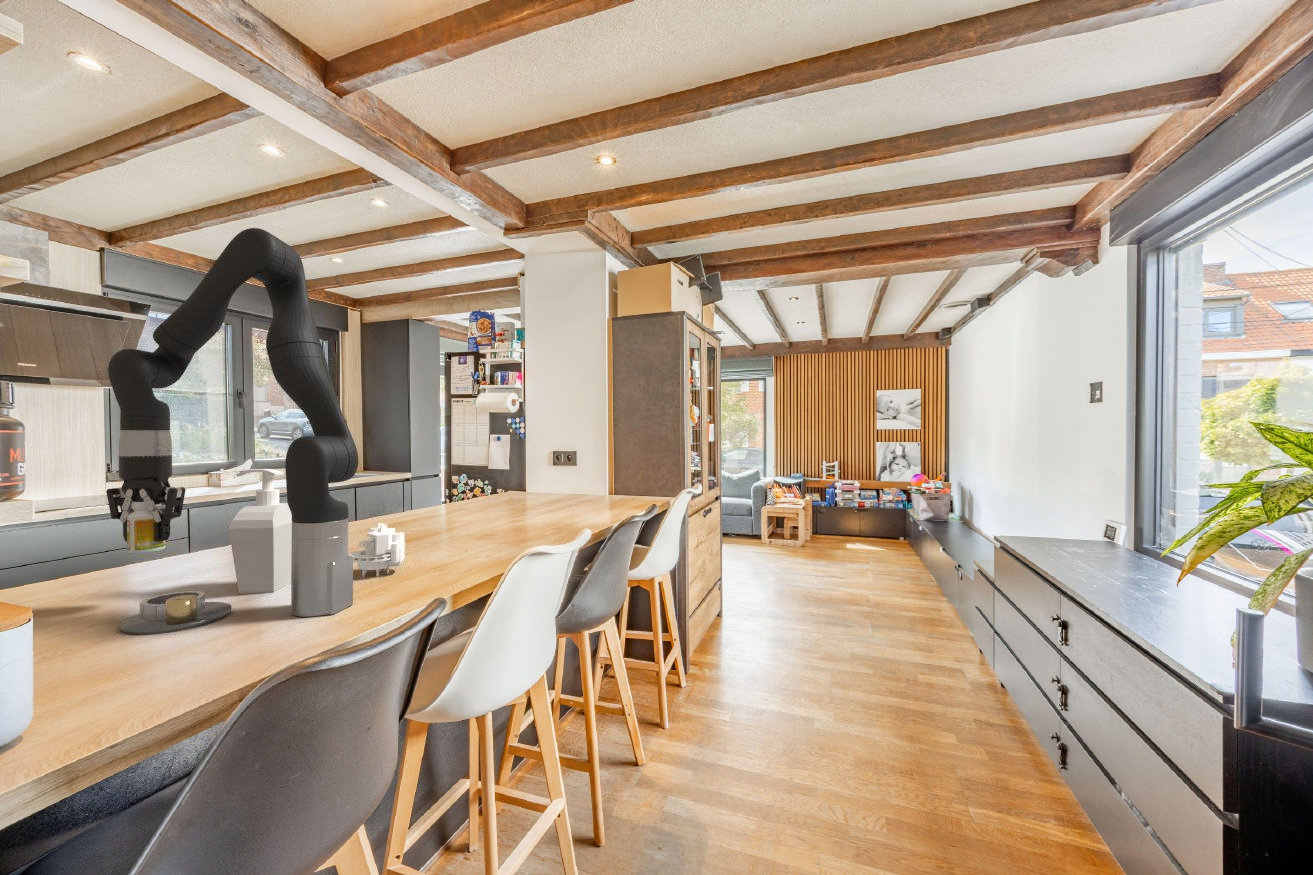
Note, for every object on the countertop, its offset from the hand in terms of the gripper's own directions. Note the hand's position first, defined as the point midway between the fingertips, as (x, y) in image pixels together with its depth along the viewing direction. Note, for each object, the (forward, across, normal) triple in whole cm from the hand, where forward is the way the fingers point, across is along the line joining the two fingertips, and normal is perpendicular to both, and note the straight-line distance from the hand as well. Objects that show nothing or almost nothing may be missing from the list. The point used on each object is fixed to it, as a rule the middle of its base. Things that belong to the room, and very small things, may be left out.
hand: (146, 540), depth 103 cm
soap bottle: (+13, -13, -13) cm, 22 cm away
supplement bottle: (+2, 0, 0) cm, 2 cm away
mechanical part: (+13, -31, -26) cm, 42 cm away
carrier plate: (+13, -13, +7) cm, 20 cm away
